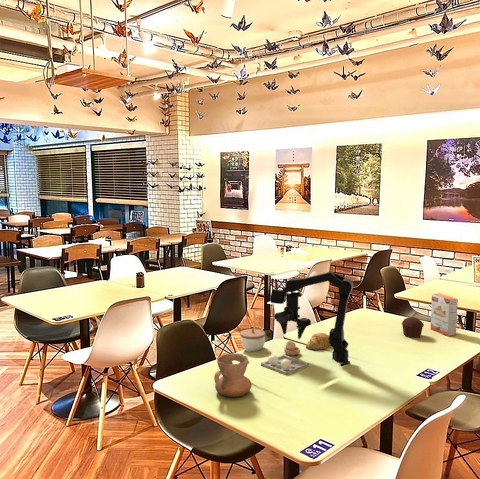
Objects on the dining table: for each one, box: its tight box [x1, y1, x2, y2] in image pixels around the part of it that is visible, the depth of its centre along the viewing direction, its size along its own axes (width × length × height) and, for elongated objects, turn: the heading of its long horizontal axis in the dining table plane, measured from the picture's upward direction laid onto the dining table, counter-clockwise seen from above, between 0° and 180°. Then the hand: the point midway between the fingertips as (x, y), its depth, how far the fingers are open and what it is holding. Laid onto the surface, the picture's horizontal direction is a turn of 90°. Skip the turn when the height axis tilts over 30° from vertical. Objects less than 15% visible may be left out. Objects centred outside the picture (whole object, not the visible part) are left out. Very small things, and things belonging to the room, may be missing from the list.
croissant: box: [305, 332, 331, 350], centre depth 236 cm, size 21×10×8 cm, turn 133°
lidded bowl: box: [240, 328, 266, 353], centre depth 229 cm, size 13×13×11 cm
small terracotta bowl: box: [283, 346, 301, 357], centre depth 221 cm, size 7×7×4 cm
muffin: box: [401, 316, 425, 339], centre depth 251 cm, size 12×11×10 cm
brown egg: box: [285, 340, 297, 351], centre depth 222 cm, size 5×5×5 cm
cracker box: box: [430, 293, 459, 337], centre depth 256 cm, size 14×6×21 cm, turn 17°
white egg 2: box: [281, 359, 291, 370], centre depth 201 cm, size 5×5×5 cm
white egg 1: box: [267, 354, 279, 366], centre depth 207 cm, size 5×5×5 cm
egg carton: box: [260, 354, 310, 376], centre depth 207 cm, size 16×16×2 cm
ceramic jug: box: [213, 352, 252, 398], centre depth 181 cm, size 18×14×14 cm
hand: (291, 336), depth 221 cm, fingers open, 9 cm apart
